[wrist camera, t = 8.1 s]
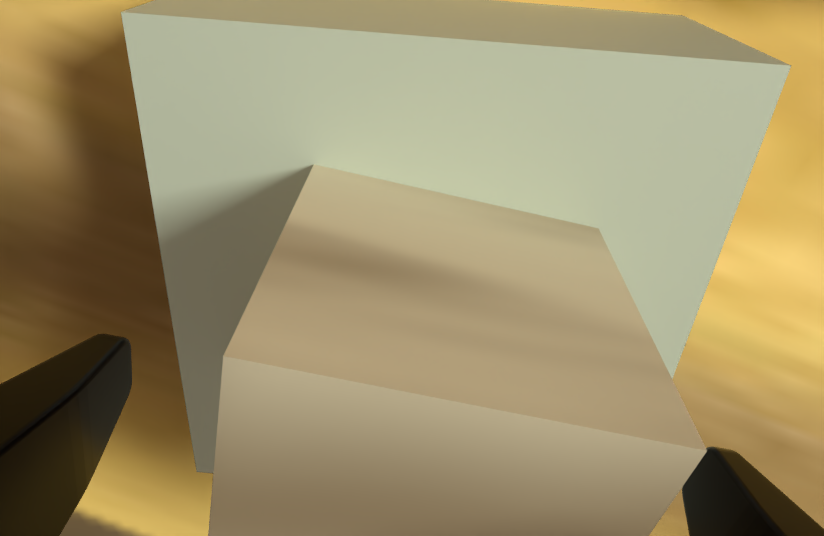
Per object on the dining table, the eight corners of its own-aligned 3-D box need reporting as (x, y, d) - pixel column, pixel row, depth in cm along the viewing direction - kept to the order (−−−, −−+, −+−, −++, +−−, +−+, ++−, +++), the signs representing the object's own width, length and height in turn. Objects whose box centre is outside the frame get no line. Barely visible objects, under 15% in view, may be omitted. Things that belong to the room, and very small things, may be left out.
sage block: (581, 365, 19) (624, 504, 14) (252, 339, 18) (196, 471, 14) (678, 13, 13) (790, 65, 9) (222, -24, 13) (120, 11, 9)
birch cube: (511, 429, 13) (545, 684, 9) (280, 384, 13) (200, 629, 8) (598, 228, 11) (706, 450, 6) (314, 164, 10) (223, 356, 6)
